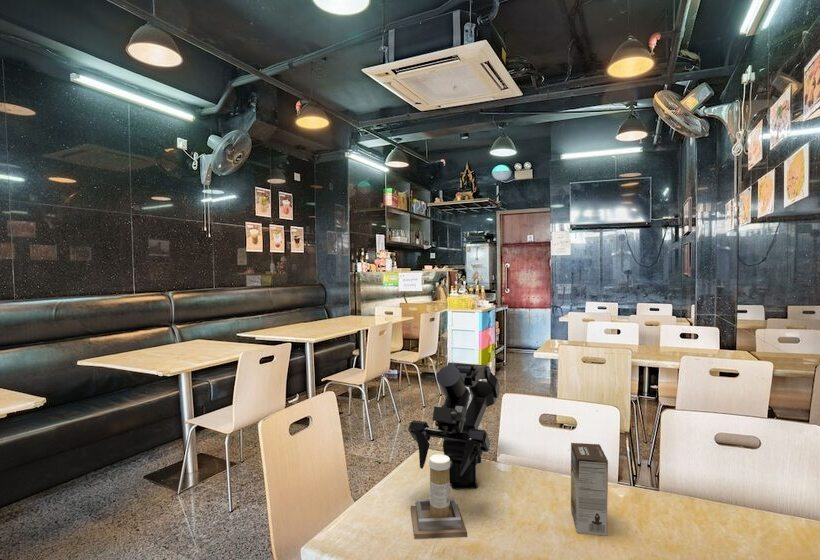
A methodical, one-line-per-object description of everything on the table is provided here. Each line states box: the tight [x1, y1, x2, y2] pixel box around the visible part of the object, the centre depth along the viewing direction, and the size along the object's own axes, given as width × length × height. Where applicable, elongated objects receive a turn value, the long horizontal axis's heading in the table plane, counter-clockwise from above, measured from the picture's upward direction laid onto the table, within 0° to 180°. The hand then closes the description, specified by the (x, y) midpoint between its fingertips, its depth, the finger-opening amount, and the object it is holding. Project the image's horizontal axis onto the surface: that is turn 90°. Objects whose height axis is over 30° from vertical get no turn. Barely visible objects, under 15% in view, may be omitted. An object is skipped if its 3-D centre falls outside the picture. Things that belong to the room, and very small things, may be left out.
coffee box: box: [570, 442, 609, 537], centre depth 97 cm, size 9×6×16 cm
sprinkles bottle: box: [428, 453, 451, 518], centre depth 97 cm, size 5×5×13 cm
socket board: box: [410, 497, 468, 540], centre depth 97 cm, size 11×11×3 cm
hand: (440, 471), depth 99 cm, fingers open, 9 cm apart
